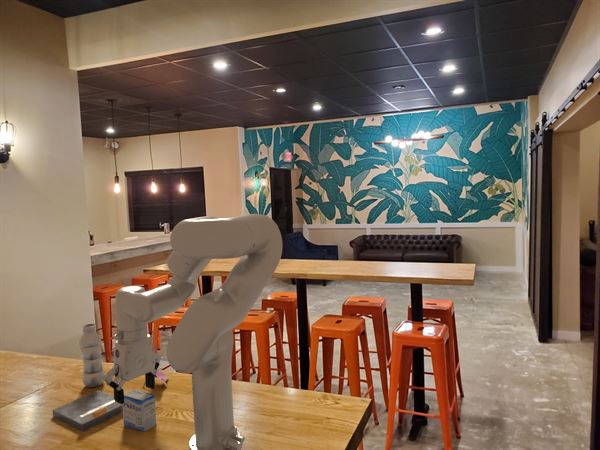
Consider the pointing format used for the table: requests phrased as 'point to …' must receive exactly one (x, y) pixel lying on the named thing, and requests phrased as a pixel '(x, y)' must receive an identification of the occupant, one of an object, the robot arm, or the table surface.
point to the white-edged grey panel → (88, 410)
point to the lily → (160, 376)
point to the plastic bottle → (91, 356)
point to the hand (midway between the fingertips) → (135, 394)
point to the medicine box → (139, 410)
